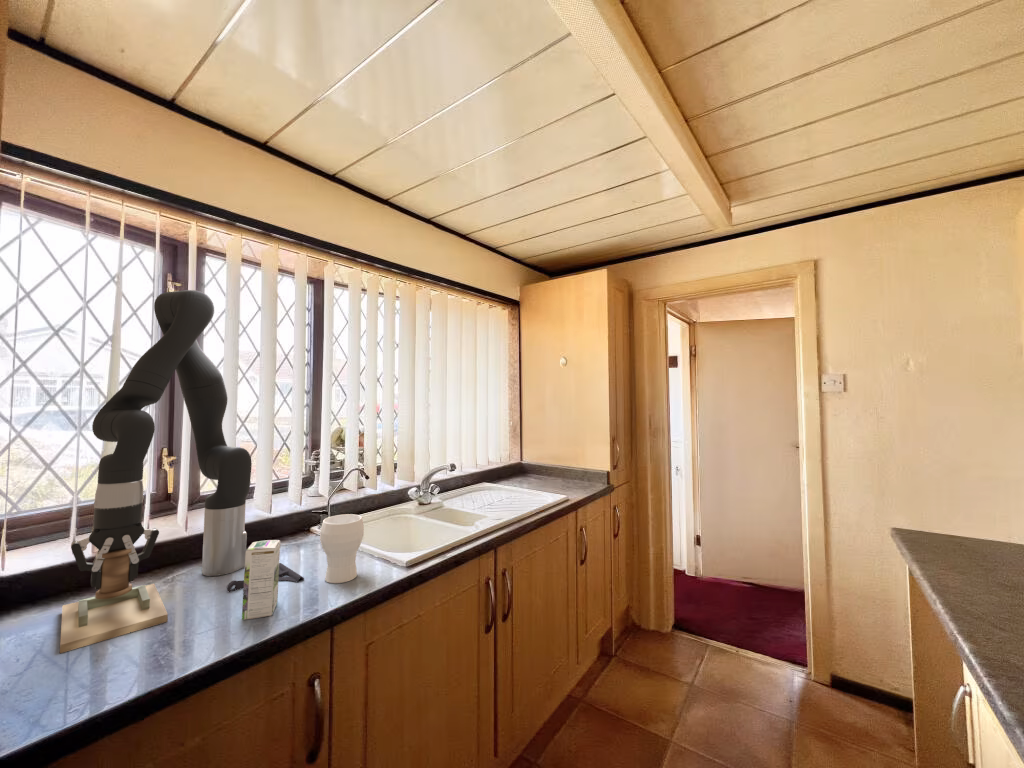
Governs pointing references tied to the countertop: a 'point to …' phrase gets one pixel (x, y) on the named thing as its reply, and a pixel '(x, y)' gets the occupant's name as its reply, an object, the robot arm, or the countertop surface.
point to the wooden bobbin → (114, 574)
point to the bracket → (282, 572)
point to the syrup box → (261, 579)
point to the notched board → (110, 617)
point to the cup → (341, 546)
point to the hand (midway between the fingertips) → (114, 584)
